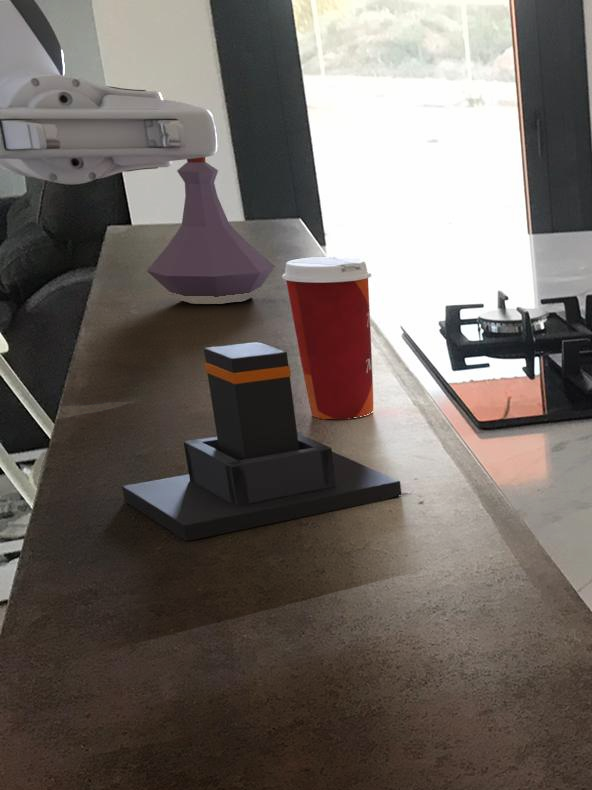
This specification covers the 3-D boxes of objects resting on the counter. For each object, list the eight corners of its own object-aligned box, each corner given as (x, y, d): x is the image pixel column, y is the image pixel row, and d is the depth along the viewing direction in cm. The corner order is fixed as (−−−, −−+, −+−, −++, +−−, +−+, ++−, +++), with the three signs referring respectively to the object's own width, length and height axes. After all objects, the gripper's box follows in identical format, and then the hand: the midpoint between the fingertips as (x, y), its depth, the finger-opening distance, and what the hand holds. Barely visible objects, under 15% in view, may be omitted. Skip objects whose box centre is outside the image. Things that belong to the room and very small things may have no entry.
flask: (284, 306, 176) (265, 152, 168) (152, 312, 169) (125, 152, 162) (274, 288, 189) (255, 145, 182) (151, 293, 183) (126, 145, 175)
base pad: (186, 542, 87) (176, 482, 86) (124, 501, 95) (114, 446, 93) (402, 496, 98) (396, 442, 96) (329, 463, 105) (323, 413, 104)
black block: (250, 496, 93) (230, 359, 89) (222, 480, 96) (202, 348, 92) (305, 485, 96) (288, 351, 92) (275, 471, 99) (258, 341, 95)
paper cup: (402, 410, 122) (388, 260, 117) (338, 427, 116) (320, 269, 111) (345, 399, 126) (329, 253, 121) (280, 415, 120) (260, 261, 115)
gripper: (-93, 87, 102) (-46, 91, 93) (173, 91, 115) (237, 94, 106) (-75, 171, 104) (-27, 182, 95) (184, 165, 117) (247, 175, 108)
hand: (114, 136), depth 101 cm, fingers open, 8 cm apart
